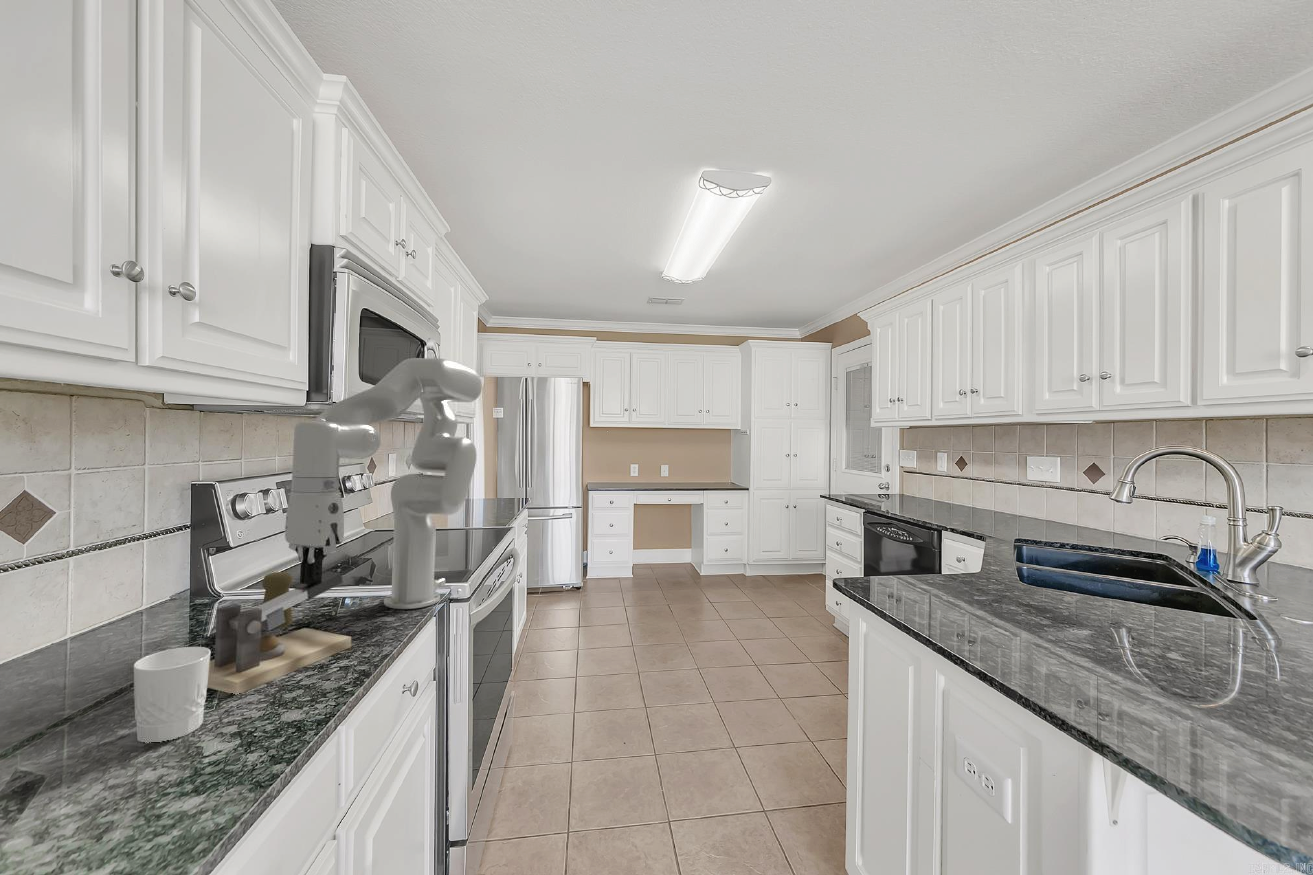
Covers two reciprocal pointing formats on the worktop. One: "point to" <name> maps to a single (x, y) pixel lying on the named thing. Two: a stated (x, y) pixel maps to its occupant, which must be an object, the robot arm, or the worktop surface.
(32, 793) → the worktop surface
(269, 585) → the cork
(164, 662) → the white cup
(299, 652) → the nutcracker base
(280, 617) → the lever
